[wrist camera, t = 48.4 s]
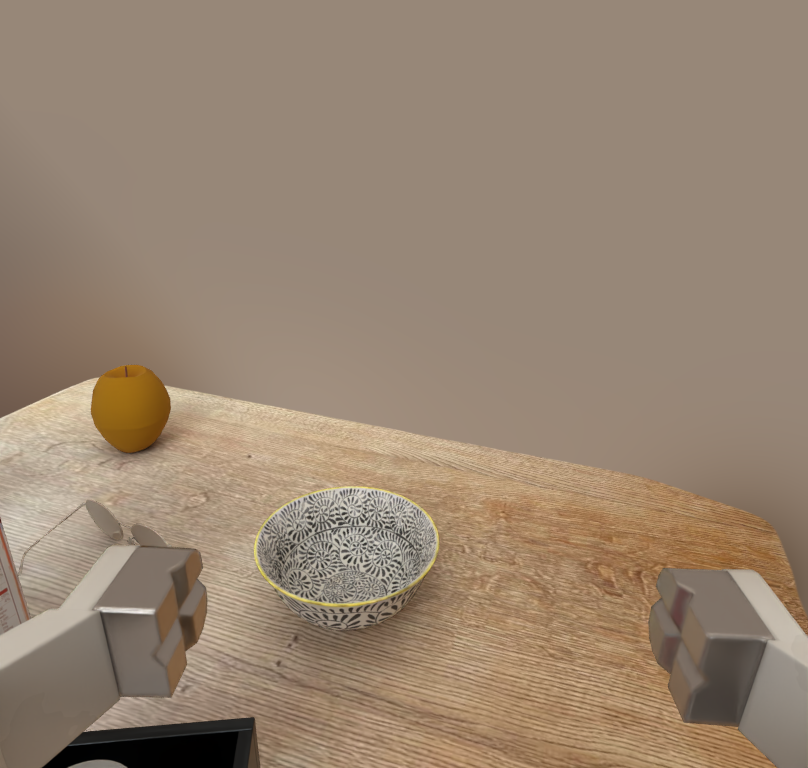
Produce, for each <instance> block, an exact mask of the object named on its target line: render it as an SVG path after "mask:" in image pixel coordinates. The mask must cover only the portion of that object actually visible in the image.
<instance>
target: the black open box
mask: <svg viewBox="0 0 808 768" xmlns="http://www.w3.org/2000/svg"><path fill="white" fill-rule="evenodd" d="M91 760H111V761H115V762H118V763H121V764H122V765H124V766H126V767H127V768H260V760H259V752H258V743H257V734H256V726H255V718H254V717H251V718H239V719H228V720H216V721H204V722H193V723H181V724H169V725H158V726H146V727H135V728H123V729H111V730H100V731H88V732H82V733H81V734H80V735H79V736H78V737H77V738H75V739H74V740H73V741H72V742H71V743H70V744H68V745H67V746H66V747H65V748H64V749H63V750H62V751H60V752H59V753H58V754H57V755H56V756H55V757H54V758H52V759H51V760H50V761H49V762H48V763H47V764H46V765H44V766H43V767H42V768H68V767H70V766H73V765H75V764H79V763H82V762H86V761H91Z"/></svg>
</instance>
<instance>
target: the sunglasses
mask: <svg viewBox="0 0 808 768" xmlns="http://www.w3.org/2000/svg"><path fill="white" fill-rule="evenodd" d="M84 505H86V508H87V510H88V512H89V514H90V516H91V517H92V519H93V520H94V522H95V523H96V524H97V526H98V527H99V528H100V529H101V530H102V531H103V532H104V533H105V534H106V535H108V536H109V537H111V538H113V539H115V540H121V539H122V538H123V531H122V528H121V526H120V524H121V525H123V526H125V527H128V528H129V529H131V532H132V534H133V536H134V537H133V538H134V539H135V540H136V541H137V542H138V543H139V544H140V546H142V545H144V546H160V547H172V546H171V545H170V544H167V543H166V541H165V540H164V539H163V537H162V536H161V535H160V534H159V533H157V532H156V531H155V530H153V529H152V528H150V527H148V526H145V525H143V524H134V525H133V526H132V527H129V526H127V525H124V524H122V523H121V522H118V521H117V519H116V518H115V516H114V515H113V514H112V513H111V511H110V510H109V509H108V508H106V507H105V506H104V505H102V504H100V503H99V502H97V501H94V500H87V501H86V502H85V503H83V504H81V505H80V506H78V507H77V508H76V509H75V510H74V511H72V512H71V513H70V514H69V515H68V516H67V517H65V518H64V519H63V520H62V521H61V522H59V523H58V524H57V525H56V526H55V527H54V528H56V527H57V526H58V525H59V524H61V523H62V522H63V521H64V520H66V519H67V518H68V517H69V516H71V515H72V514H73V513H74V512H76V511H77V510H78V509H79V508H81V507H82V506H84ZM54 528H52V529H51V530H50V531H49V532H51V531H52V530H53V529H54ZM49 532H48V533H49ZM48 533H47V534H48ZM47 534H45V535H44V536H46V535H47ZM44 536H43V537H44ZM43 537H42V538H43ZM42 538H41V539H42ZM133 538H132V539H133ZM41 539H39V540H37V541H36V542H35V543H34V544H33V545H32V546H30V547H29V548H28V549H27V550H26V551H25V553H24V555H23V557H22V560H21V564H20V568H19V573H18V576H20V575H21V573H22V567H23V561H24V557H25V555H26V553H27V552H28V551H29V550H30V549H31V548H32V547H33V546H34V545H36V544H37V543H38V542H39V541H40V540H41ZM132 539H131V538H130V537H129V538H128V539H127V541H128V543H129V545H135V544H134V541H132Z"/></svg>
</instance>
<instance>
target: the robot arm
mask: <svg viewBox="0 0 808 768" xmlns="http://www.w3.org/2000/svg"><path fill="white" fill-rule="evenodd" d="M202 569H203V564H202V559H201V554H200V552H199V551H198V550H197V549H191V548H176V547H160V546H144V545H142V546H138V545H121V544H114V545H112V546H110V547H108V548H107V549H106V550H105V551H104V552H103V554H102V555H101V556H100V557H99V559H98V560H97V561H96V562H95V564H94V565H93V566H92V567H91V569H90V570H89V571H88V572H87V574H86V575H85V576H84V577H83V579H82V580H81V581H80V582H79V584H78V585H77V586H76V587H75V589H74V590H73V591H72V592H71V594H70V595H69V596H68V597H67V599H66V600H65V601H64V602H63V604H62V605H61V606H60V607H59V609H48V610H46V611H44V612H42V613H40V614H39V615H37V616H35V617H33V618H31V619H29V620H28V621H26V622H24V623H22V624H20V625H18V626H16V627H15V628H13V629H11V630H9V631H7V632H5V633H4V634H2V635H0V768H42V767H43V766H44V765H46V764H47V763H48V762H49V761H50V760H51V759H52V758H54V757H55V756H56V755H57V754H58V753H59V752H60V751H62V750H63V749H64V748H65V747H66V746H67V745H68V744H70V743H71V742H72V741H73V740H74V739H75V738H77V737H78V736H79V735H80V734H81V733H82V732H83V731H85V730H86V729H87V728H88V727H89V726H90V725H91V724H93V723H94V722H95V721H96V720H97V719H98V718H99V717H101V716H102V715H103V714H104V713H105V712H106V711H108V710H109V709H110V708H111V707H112V706H113V705H114V704H116V703H117V702H118V701H119V700H120V697H166V698H171V697H172V695H173V693H174V691H175V689H176V687H177V685H178V682H179V680H180V678H181V676H182V674H183V672H184V670H185V668H186V665H187V660H186V653H185V651H186V650H188V649H189V648H191V647H192V646H193V645H195V644H196V643H197V642H198V639H199V637H200V635H201V633H202V630H203V627H204V623H205V618H206V614H207V592H206V587H205V586H204V585H203V584H202V583H201V582H200V581H199V580H198V579H197V578H198V576H199V574H200V573H201V571H202ZM656 588H657V590H658V592H659V594H660V596H661V599H659V600H658V601H657V602H656V603H655V604H654V605H653V606H651V611H650V616H649V622H648V624H649V639H650V643H651V647H652V651H653V654H654V656H655V658H656V661H657V663H658V664H659V665H660V666H661V667H662V668H664V669H665V670H666V671H667V672H668V673H670V674H671V675H670V679H669V683H668V688H669V691H670V693H671V695H672V697H673V700H674V702H675V704H676V706H677V709H678V711H679V713H680V715H681V718H682V720H683V722H684V723H696V724H709V725H722V726H735V727H738V730H739V731H740V732H741V733H742V734H743V735H744V736H745V737H746V738H747V739H748V740H749V741H750V742H751V743H752V744H754V745H755V746H756V747H757V748H758V749H759V750H760V751H761V752H762V753H763V754H764V755H765V756H766V757H767V758H768V759H769V760H770V761H771V762H772V763H773V764H774V765H775V766H776V767H777V768H808V636H807V635H806V634H805V632H804V631H803V630H802V629H801V627H800V626H799V625H798V623H797V622H796V621H795V619H794V618H793V617H792V616H791V614H790V613H789V612H788V610H787V609H786V608H785V606H784V605H783V604H782V603H781V601H780V600H779V599H778V597H777V596H776V595H775V594H774V592H773V591H772V590H771V588H770V587H769V586H768V584H767V583H766V582H765V581H764V579H763V578H762V577H761V575H760V574H758V573H757V572H755V571H753V570H734V569H722V570H705V569H676V568H663V569H662V571H661V572H660V574H659V576H658V580H657V584H656Z"/></svg>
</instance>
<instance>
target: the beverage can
mask: <svg viewBox="0 0 808 768" xmlns="http://www.w3.org/2000/svg"><path fill="white" fill-rule="evenodd" d="M68 768H127V767H126V766H124V765H122V764H121V763H118V762H115V761H111V760H91V761H86V762H82V763H79V764H75V765H73V766H70V767H68Z"/></svg>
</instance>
